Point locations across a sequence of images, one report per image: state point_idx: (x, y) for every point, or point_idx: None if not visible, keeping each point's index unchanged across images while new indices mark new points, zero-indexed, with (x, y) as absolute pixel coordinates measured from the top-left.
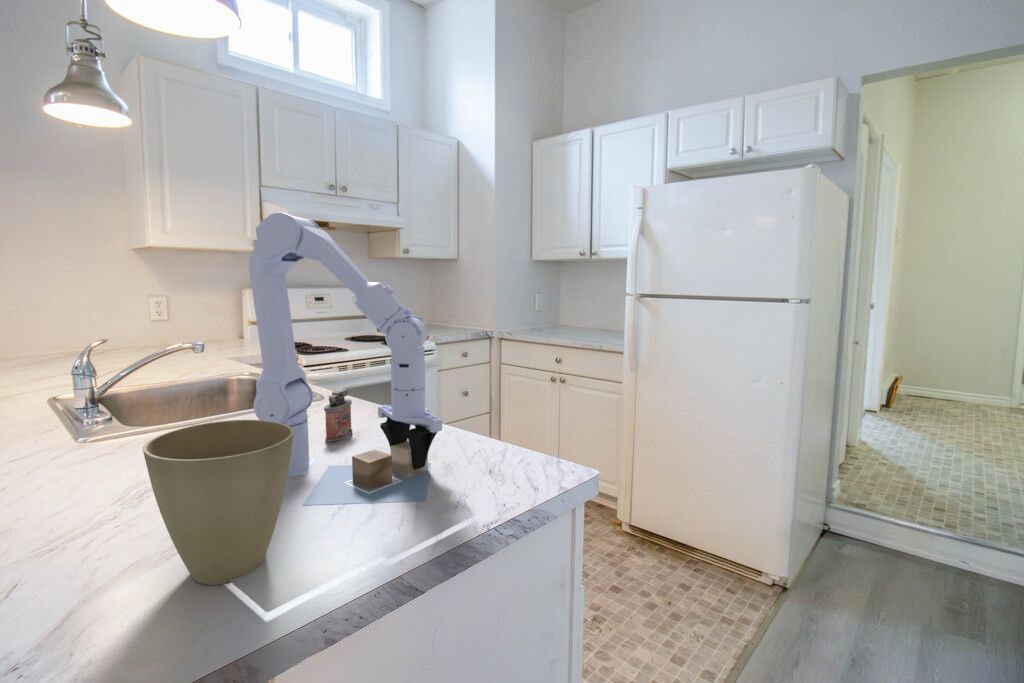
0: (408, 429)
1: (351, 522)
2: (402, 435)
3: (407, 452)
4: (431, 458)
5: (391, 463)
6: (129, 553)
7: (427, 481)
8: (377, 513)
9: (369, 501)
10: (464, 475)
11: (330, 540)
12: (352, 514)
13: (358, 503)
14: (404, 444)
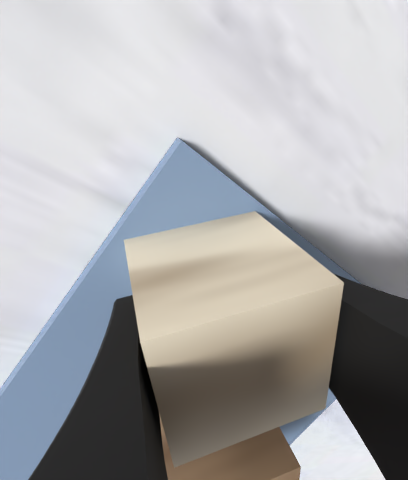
0: (146, 465)
1: (326, 445)
2: (156, 461)
3: (323, 405)
4: (41, 31)
5: (278, 428)
6: None
7: (336, 268)
8: (338, 407)
9: (303, 425)
10: (388, 78)
11: (344, 468)
12: (301, 443)
13: (289, 443)
14: (205, 400)
